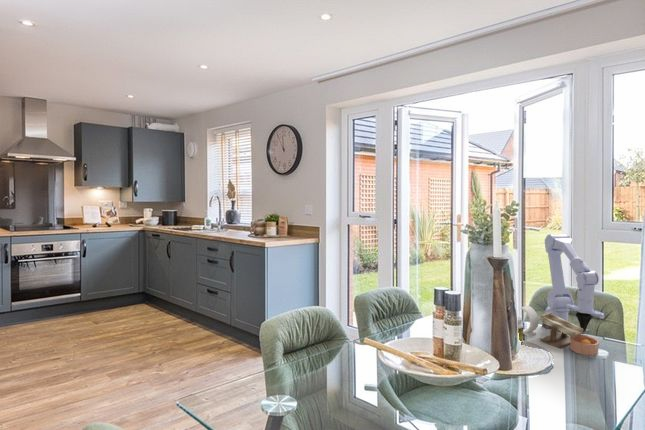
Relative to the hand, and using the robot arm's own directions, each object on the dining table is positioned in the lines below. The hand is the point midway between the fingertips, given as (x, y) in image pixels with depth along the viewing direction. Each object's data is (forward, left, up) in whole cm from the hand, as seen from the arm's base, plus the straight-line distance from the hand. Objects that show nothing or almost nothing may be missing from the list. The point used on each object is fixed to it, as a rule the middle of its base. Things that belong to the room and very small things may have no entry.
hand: (583, 329), depth 189 cm
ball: (+4, -6, -4) cm, 8 cm away
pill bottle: (-17, -23, -7) cm, 29 cm away
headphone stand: (-19, -9, -7) cm, 22 cm away
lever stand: (-7, -6, -6) cm, 11 cm away
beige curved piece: (-7, -3, -2) cm, 8 cm away
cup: (+3, -6, -6) cm, 9 cm away
